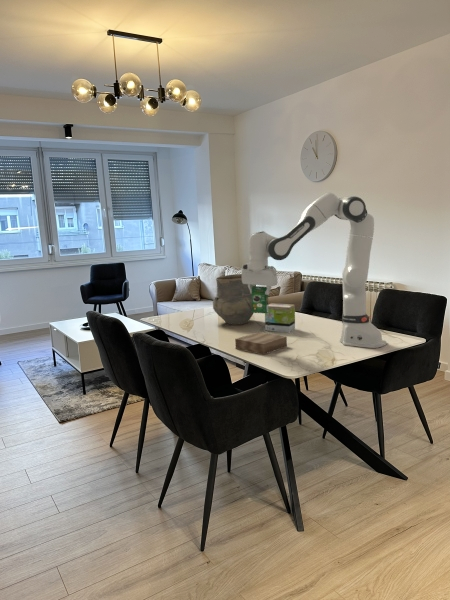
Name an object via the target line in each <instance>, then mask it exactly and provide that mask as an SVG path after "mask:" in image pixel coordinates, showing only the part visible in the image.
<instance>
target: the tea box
mask: <svg viewBox="0 0 450 600" xmlns="http://www.w3.org/2000/svg"><path fill="white" fill-rule="evenodd" d="M264 325H265V326H264V329H265V332H266V331H269V332H270V331H271V332H280V333H281V332H282V333H287V334H288V333H291V332H293V331H294V330H295V329H296V305H295V304H289V303H287V304H286V303H273V302H271V303H268V313H264Z"/></svg>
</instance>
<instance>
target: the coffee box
mask: <svg viewBox="0 0 450 600" xmlns="http://www.w3.org/2000/svg"><path fill="white" fill-rule="evenodd" d="M266 290H267V288H266V286H262V285H253V286H252V313H253V314H265V313H268V305H269V295H265V291H266Z"/></svg>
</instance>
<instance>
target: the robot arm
mask: <svg viewBox="0 0 450 600" xmlns="http://www.w3.org/2000/svg"><path fill="white" fill-rule="evenodd" d="M333 216H334V217H336V218H338V219H339V220H344V221H348V222H349V224H350V230H349V231H350V232H349V237H348V242H347V249H346V254H345V255H346V256H345V257H346V258H345V265H344V268H343V270H342V300H343V301H342V315H341V321H342V330H341V335H340V338H339V342H340V343H342V345H343V346H351V347H358V348H359V347H360V348H368V349H369V348H370V349H378V348H381V347H384V346H386V345H387V344H388V343H387V342H388V341H387V340H384V339H383V336H382V332H381V330H380V329H378V328H377V326H375V325H374V324H373V323H372V322H371V321H370V319H371V317H372V316H371V315H370V316H368V314H367V294H366V283H367V280H368V275H369V268H370V259H371V250H372V245H373V240H374V239H373V238H374V232H375V231H374V230H375V219H374V216H373V215H371V214H370V213H368V209H367V207H366V203H365V201H364V200H363V199H362V198H361V197H358V196H350V195H349V196H345V197H338V196H337V195H336V194H335V193H332V192H325V193H324V194H322V195H320V196H319V197H317V198H316V199H314V201H311V203H309V205H307V206H306V207H305V209H304V210H303V211H302V212H301V214H300V217H299V221H298V222H297V224H296V225H295V226H294V227H293V228H291V229H290V230H289V231H288V232H287V233H286V234H285V235H283V236H280V237H275V236H274V235H271V234H269V233H267V232H266V231H263V230H262V231H258V232H254V233H252V234H251V235H250V236H249V238H248V251H249V259H248V260H249V262H246V263H244V264H242V265H241V274H242V283H243V284H248V287H249V289H250V293H252V286H265V287H266V288H267V290H266V291H265V295H268V296H269V295H270V293H271V292H270V291H271V289H272V287H274V286H277V285H278V284H279V283H278V274H277V268H275V267H274V266H273V265H271V266H270V265H269V262H268V259H269V258H272V259H273V260H275V261H283V260H285V259H286V258H288V257H289V256H290V254H291V252H292V250H293V248H294V246H296V244H297V243H298V242H299V241H301V240H302V239H303V238H304V237H306V235H307V234H309V233H310V232H313V231H314V230H316V229H318V228H319V227H320V226H321V225H323V224H325V222H327V221H328V220H329V219H330V218H331V217H333Z"/></svg>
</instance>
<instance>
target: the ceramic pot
mask: <svg viewBox="0 0 450 600" xmlns="http://www.w3.org/2000/svg"><path fill="white" fill-rule="evenodd" d="M215 280H216V296H214V299H213V301H212V309H213V311H215V313H216V314H217V316H219V317H220V318H221V319H222V320H224V322H225V323H227V324H229V325H235V326H236V325H244V324H247V323H248V322H249V321H250V320H251V318H252V316H253V315H254V313H252V293H250V289H249V287H248V284H243V283H242V273H237V274H227V275H226V274H225V275H222V276H218V277H216V278H215Z"/></svg>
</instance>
